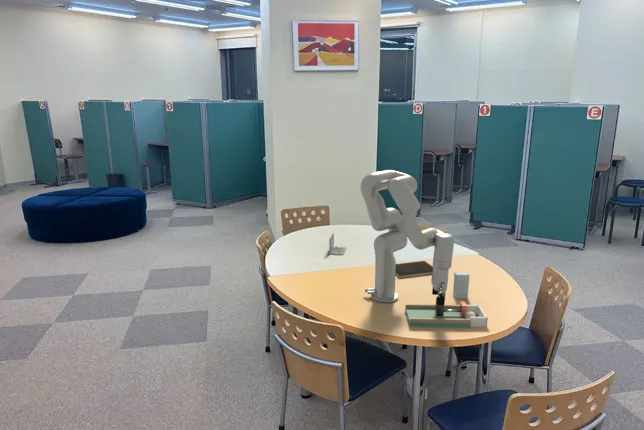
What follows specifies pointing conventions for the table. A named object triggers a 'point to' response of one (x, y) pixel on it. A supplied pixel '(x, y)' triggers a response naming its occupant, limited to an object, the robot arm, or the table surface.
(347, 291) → the table surface
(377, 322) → the table surface
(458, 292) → the skincare box
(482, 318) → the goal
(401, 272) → the hardcover book
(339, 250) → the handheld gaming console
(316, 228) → the table surface
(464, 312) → the kicker rod
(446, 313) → the pitch board
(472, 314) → the ball
